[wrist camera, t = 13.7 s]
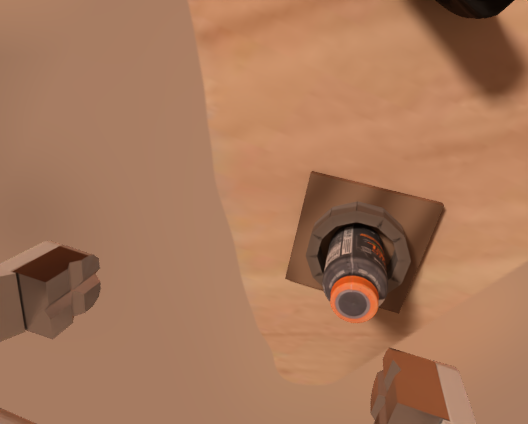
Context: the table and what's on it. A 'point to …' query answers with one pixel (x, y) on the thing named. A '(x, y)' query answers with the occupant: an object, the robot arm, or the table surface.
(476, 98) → the table surface
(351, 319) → the pill bottle
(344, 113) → the table surface
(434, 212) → the holder
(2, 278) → the robot arm
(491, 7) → the controller
